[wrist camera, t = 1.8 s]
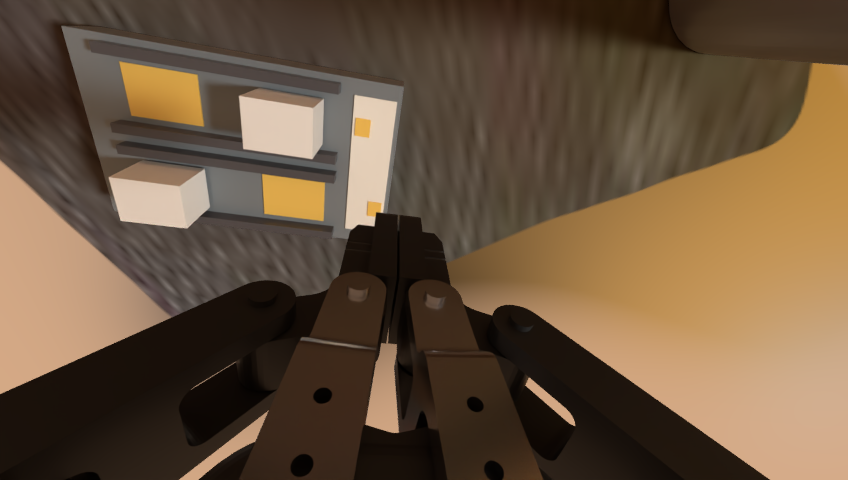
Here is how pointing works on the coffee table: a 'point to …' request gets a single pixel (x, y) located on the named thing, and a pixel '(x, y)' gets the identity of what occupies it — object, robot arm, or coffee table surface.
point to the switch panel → (238, 129)
